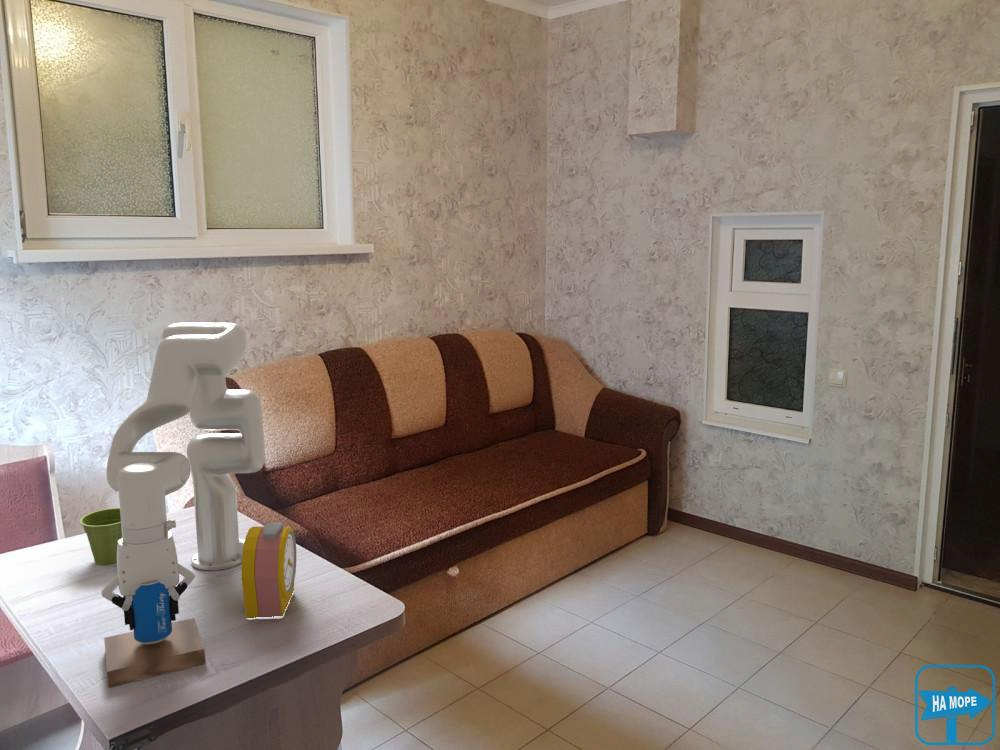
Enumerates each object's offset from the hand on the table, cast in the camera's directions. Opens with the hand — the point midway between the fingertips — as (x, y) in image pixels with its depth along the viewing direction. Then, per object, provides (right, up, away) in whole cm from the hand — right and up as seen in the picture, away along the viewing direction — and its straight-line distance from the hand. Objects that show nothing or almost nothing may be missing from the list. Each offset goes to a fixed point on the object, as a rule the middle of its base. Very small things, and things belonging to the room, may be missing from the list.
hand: (152, 621), depth 141 cm
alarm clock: (+16, -4, +21) cm, 27 cm away
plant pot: (-30, +1, +43) cm, 53 cm away
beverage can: (0, -3, +1) cm, 3 cm away
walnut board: (0, -7, +1) cm, 7 cm away
